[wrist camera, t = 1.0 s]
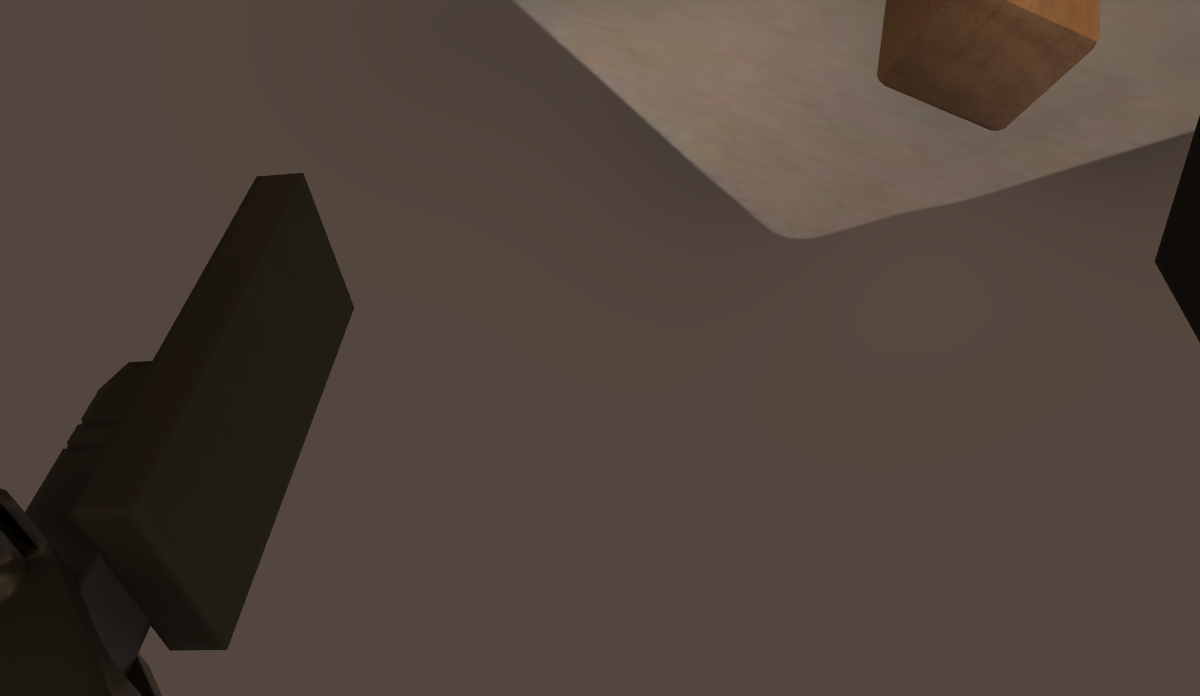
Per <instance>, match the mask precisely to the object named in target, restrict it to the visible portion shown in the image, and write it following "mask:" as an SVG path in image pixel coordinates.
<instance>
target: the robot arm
mask: <svg viewBox="0 0 1200 696" xmlns="http://www.w3.org/2000/svg"><path fill="white" fill-rule="evenodd" d="M1155 263H1156V265H1157V266H1158V268H1159V270H1160V272H1161V274H1162V275H1163V277H1164V279H1165V281H1166V283H1167V284H1168V286H1169V288H1170V290H1171V292H1172V293H1173V295H1174V297H1175V299H1176V301H1177V302H1178V304H1179V306H1180V308H1181V310H1182V311H1183V313H1184V315H1185V316H1186V318H1187V320H1188V322H1189V324H1190V325H1191V327H1192V329H1193V331H1194V333H1195V334H1196V336H1197V338H1198V340H1199V342H1200V116H1199V120H1198V123H1197V126H1196V129H1195V133H1194V136H1193V139H1192V142H1191V146H1190V149H1189V152H1188V155H1187V158H1186V162H1185V165H1184V169H1183V171H1182V175H1181V178H1180V181H1179V185H1178V188H1177V191H1176V194H1175V197H1174V201H1173V204H1172V207H1171V210H1170V214H1169V217H1168V220H1167V223H1166V227H1165V230H1164V233H1163V236H1162V240H1161V243H1160V246H1159V249H1158V253H1157V256H1156V259H1155ZM353 309H354V306H353V303H352V301H351V298H350V295H349V293H348V290H347V287H346V285H345V282H344V279H343V277H342V274H341V272H340V269H339V266H338V264H337V261H336V258H335V256H334V253H333V250H332V248H331V245H330V242H329V240H328V237H327V234H326V232H325V229H324V227H323V224H322V221H321V219H320V216H319V213H318V211H317V208H316V206H315V203H314V200H313V197H312V195H311V192H310V190H309V187H308V184H307V182H306V179H305V176H304V174H303V173H297V174H284V175H271V176H257V177H256V179H255V181H254V182H253V184H252V186H251V188H250V189H249V191H248V193H247V195H246V196H245V198H244V200H243V202H242V204H241V205H240V207H239V209H238V211H237V213H236V214H235V216H234V218H233V219H232V221H231V223H230V225H229V227H228V229H227V230H226V232H225V234H224V236H223V237H222V239H221V241H220V243H219V244H218V246H217V248H216V250H215V251H214V253H213V255H212V257H211V258H210V260H209V262H208V264H207V266H206V267H205V269H204V271H203V273H202V275H201V276H200V278H199V280H198V281H197V283H196V285H195V287H194V289H193V290H192V292H191V294H190V296H189V297H188V299H187V301H186V303H185V305H184V306H183V308H182V310H181V312H180V313H179V315H178V317H177V319H176V320H175V322H174V324H173V326H172V328H171V329H170V331H169V333H168V335H167V336H166V338H165V340H164V342H163V343H162V345H161V347H160V349H159V351H158V352H157V354H156V356H155V358H154V360H153V361H147V362H146V361H145V362H129V363H128V364H126V365H125V366H124V367H123V368H122V369H121V370H120V371H119V372H118V373H117V374H115V375H114V376H113V377H112V378H111V379H110V380H109V381H108V382H107V383H106V384H105V385H103V386H102V387H101V388H100V389H99V390H98V392H97V394H96V396H95V398H94V399H93V400H92V402H91V404H90V406H89V407H88V409H87V411H86V412H85V414H84V415H83V417H82V424H80V425H78V426H77V427H76V429H75V430H74V432H73V434H72V435H71V437H70V439H69V440H68V442H67V444H68V447H67V449H63V450H62V452H61V453H60V455H59V457H58V458H57V460H56V462H55V463H54V465H53V467H52V468H51V470H50V472H49V474H48V475H47V477H46V479H45V480H44V482H43V483H42V485H41V487H40V488H39V490H38V492H37V493H36V495H35V497H34V498H33V500H32V502H31V503H30V505H29V507H28V508H27V510H26V511H25V512H24V511H23V510H22V509H21V507H20V506H19V505H18V504H17V502H16V501H15V500H14V499H13V498H12V497H11V496H10V495H9V493H8V492H7V491H6V490H3V489H0V696H162V695H161V692H160V690H159V688H158V686H157V683H156V681H155V679H154V677H153V674H152V672H151V670H150V668H149V665H148V664H147V663H146V662H145V660H144V659H143V658H142V657H141V656H140V655H139V653H138V652H139V650H140V648H141V645H142V643H143V641H144V639H145V637H146V634H147V632H148V630H149V628H150V625H151V626H152V628H153V629H154V630H155V631H156V633H157V634H158V636H159V637H160V638H161V639H162V641H163V642H164V643H165V645H166V646H167V647H168V649H169V650H227V648H228V646H229V643H230V640H231V638H232V635H233V632H234V630H235V626H236V624H237V621H238V619H239V616H240V613H241V611H242V608H243V605H244V603H245V600H246V597H247V595H248V592H249V589H250V586H251V584H252V581H253V578H254V576H255V573H256V570H257V568H258V565H259V562H260V560H261V557H262V554H263V551H264V549H265V546H266V543H267V541H268V538H269V535H270V533H271V530H272V527H273V524H274V522H275V519H276V516H277V514H278V511H279V508H280V506H281V503H282V500H283V497H284V495H285V492H286V490H287V487H288V484H289V481H290V479H291V476H292V473H293V470H294V468H295V465H296V463H297V460H298V457H299V455H300V452H301V449H302V447H303V444H304V441H305V438H306V436H307V433H308V430H309V428H310V425H311V422H312V420H313V417H314V414H315V412H316V409H317V406H318V404H319V401H320V398H321V396H322V393H323V390H324V387H325V385H326V382H327V379H328V377H329V374H330V371H331V368H332V366H333V363H334V360H335V358H336V355H337V352H338V350H339V347H340V344H341V342H342V339H343V336H344V334H345V331H346V328H347V326H348V323H349V320H350V317H351V315H352V312H353Z"/></svg>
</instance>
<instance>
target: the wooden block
mask: <svg viewBox="0 0 1200 696" xmlns="http://www.w3.org/2000/svg"><path fill="white" fill-rule="evenodd" d="M1099 36H1100V20H1099V0H886V7H885V15H884V23H883V31H882V39H881V48H880V56H879V64H878V72H877V76H878V79H879V81H880V82H881V83H882V84H884V85H885V86H887V87H889V88H892V89H894V90H896V91H899V92H901V93H903V94H906V95H908V96H911V97H913V98H915V99H918V100H920V101H922V102H925V103H927V104H930V105H932V106H934V107H937V108H939V109H941V110H944V111H946V112H949V113H951V114H953V115H956V116H958V117H960V118H963V119H965V120H968V121H970V122H972V123H975V124H977V125H979V126H982V127H984V128H986V129H989V130H995V131H999V130H1001V129H1004V128H1005V127H1006V126H1008V125H1009V124H1010V123H1011V122H1012V121H1013V120H1014V119H1015V118H1017V117H1018V116H1019V115H1020V114H1021V113H1022V112H1023V111H1024V110H1025V109H1027V108H1028V107H1029V106H1030V105H1031V104H1032V103H1033V102H1034V101H1035V100H1037V99H1038V98H1039V97H1040V96H1041V95H1042V94H1043V93H1044V92H1045V91H1047V90H1048V89H1049V88H1050V87H1051V86H1052V85H1053V84H1054V83H1055V82H1057V81H1058V80H1059V79H1060V78H1061V77H1062V76H1063V75H1064V74H1066V73H1067V72H1068V71H1069V70H1070V69H1071V68H1072V67H1073V66H1074V65H1076V64H1077V63H1078V62H1079V61H1080V60H1081V59H1082V58H1083V57H1084V56H1086V55H1087V54H1088V53H1089V52H1090V51H1091V50H1092V49H1093V47H1094V46H1095V44H1096V42H1097V40H1098V38H1099Z"/></svg>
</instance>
